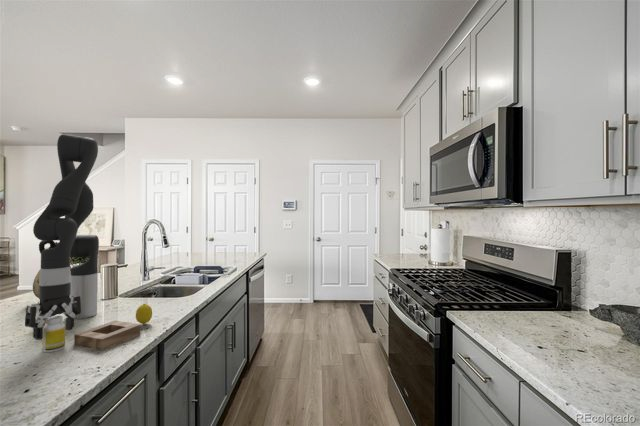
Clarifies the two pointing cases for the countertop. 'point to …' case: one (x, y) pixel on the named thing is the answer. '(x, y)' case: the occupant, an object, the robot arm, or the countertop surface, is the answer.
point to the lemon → (144, 314)
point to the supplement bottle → (53, 334)
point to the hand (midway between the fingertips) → (54, 334)
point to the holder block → (107, 335)
